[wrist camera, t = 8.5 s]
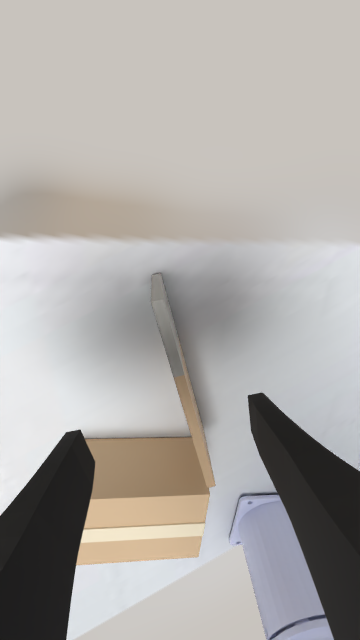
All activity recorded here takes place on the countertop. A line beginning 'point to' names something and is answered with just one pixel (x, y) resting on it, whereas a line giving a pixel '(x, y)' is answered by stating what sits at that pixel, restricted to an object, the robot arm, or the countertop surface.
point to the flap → (180, 373)
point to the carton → (144, 501)
